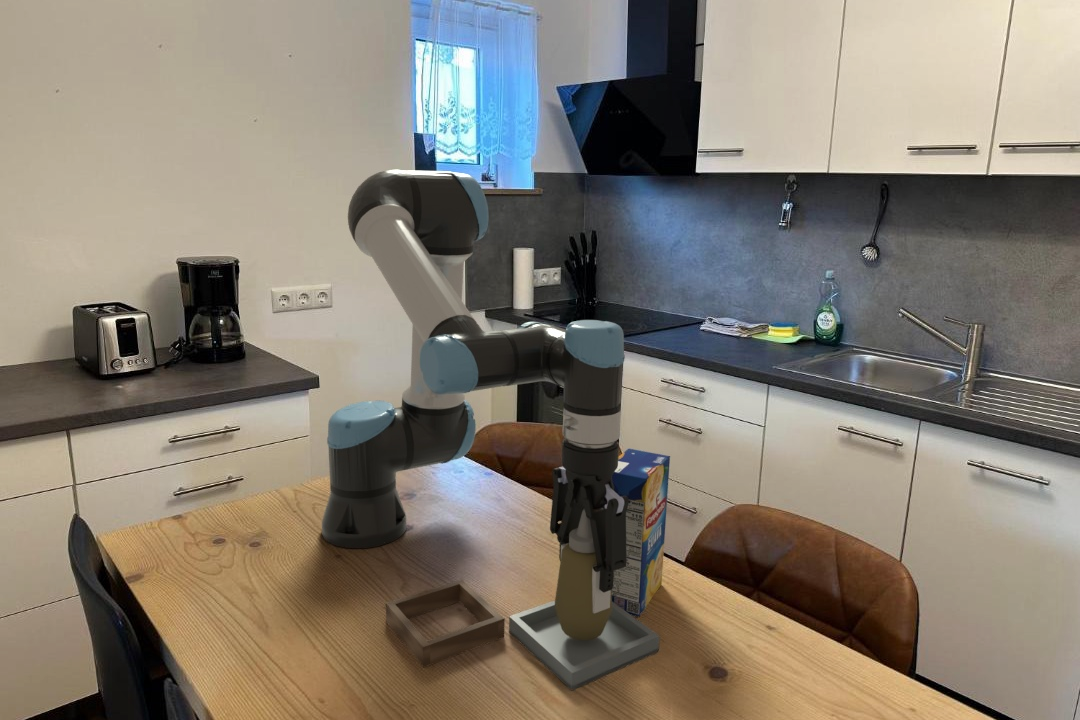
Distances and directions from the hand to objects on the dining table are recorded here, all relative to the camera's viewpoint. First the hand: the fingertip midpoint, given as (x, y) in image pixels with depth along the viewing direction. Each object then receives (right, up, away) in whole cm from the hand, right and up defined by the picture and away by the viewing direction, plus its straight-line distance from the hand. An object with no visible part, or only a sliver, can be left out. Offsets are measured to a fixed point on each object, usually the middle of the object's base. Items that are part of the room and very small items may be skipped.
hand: (584, 596), depth 102 cm
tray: (0, -7, +1) cm, 7 cm away
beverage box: (+8, -4, +14) cm, 17 cm away
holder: (-20, -6, +4) cm, 21 cm away
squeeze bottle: (0, -5, +1) cm, 5 cm away
